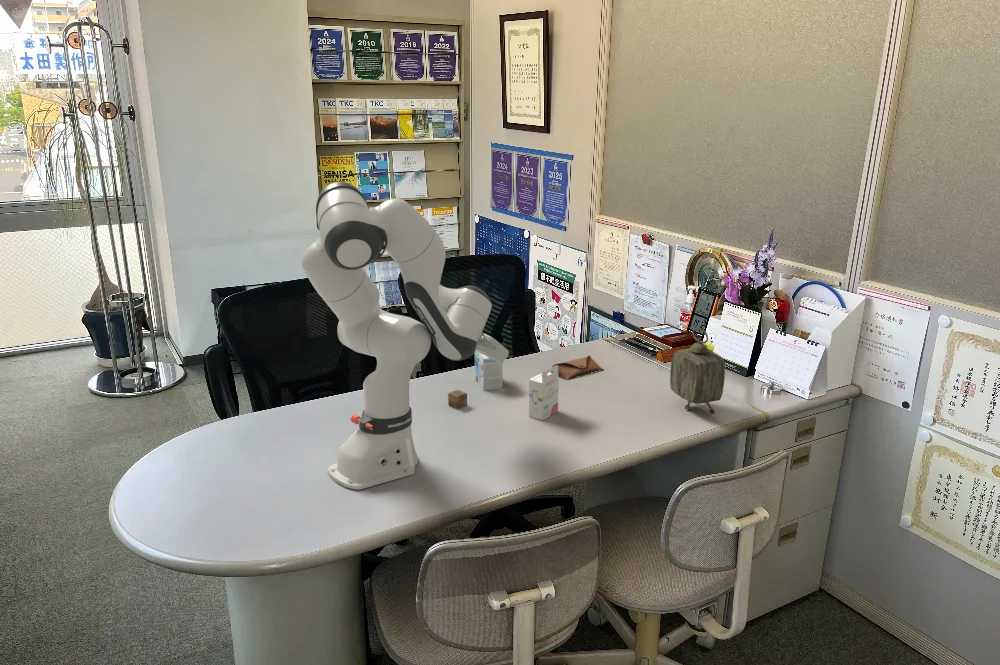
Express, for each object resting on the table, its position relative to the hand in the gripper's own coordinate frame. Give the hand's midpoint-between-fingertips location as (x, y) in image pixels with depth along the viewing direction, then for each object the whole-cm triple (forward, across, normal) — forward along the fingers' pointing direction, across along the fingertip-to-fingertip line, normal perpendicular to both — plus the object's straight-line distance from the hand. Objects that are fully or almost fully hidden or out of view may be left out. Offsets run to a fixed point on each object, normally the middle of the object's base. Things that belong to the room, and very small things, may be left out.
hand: (495, 358), depth 195 cm
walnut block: (+15, +20, +14) cm, 29 cm away
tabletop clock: (+55, -22, -24) cm, 64 cm away
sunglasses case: (+51, +22, -20) cm, 58 cm away
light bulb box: (+28, +30, +2) cm, 41 cm away
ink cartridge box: (+27, 0, +3) cm, 28 cm away
